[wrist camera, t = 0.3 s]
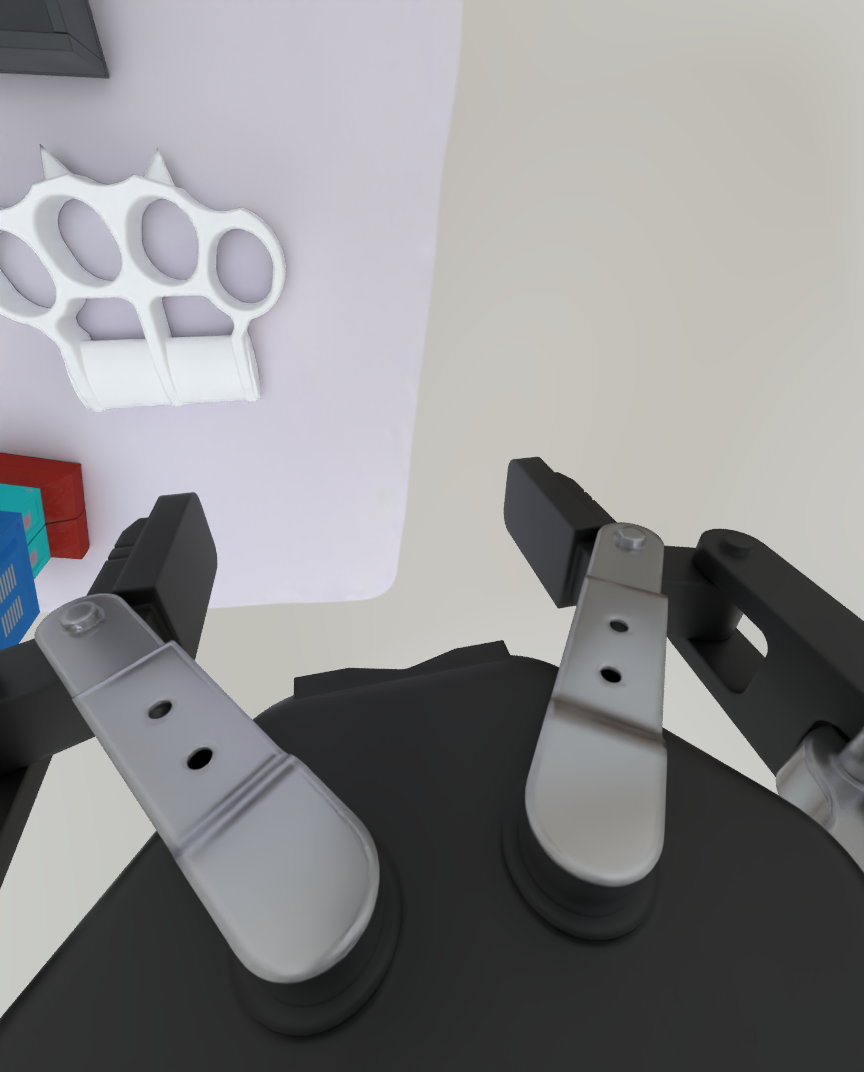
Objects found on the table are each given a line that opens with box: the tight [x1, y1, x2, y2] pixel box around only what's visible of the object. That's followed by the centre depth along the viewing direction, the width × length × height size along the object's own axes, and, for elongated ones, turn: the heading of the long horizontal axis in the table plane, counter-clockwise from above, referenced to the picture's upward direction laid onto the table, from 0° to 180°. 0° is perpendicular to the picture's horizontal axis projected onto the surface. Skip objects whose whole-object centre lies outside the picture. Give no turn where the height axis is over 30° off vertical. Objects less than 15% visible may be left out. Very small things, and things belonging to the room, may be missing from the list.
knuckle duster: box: [0, 145, 286, 412], centre depth 30 cm, size 3×18×15 cm
